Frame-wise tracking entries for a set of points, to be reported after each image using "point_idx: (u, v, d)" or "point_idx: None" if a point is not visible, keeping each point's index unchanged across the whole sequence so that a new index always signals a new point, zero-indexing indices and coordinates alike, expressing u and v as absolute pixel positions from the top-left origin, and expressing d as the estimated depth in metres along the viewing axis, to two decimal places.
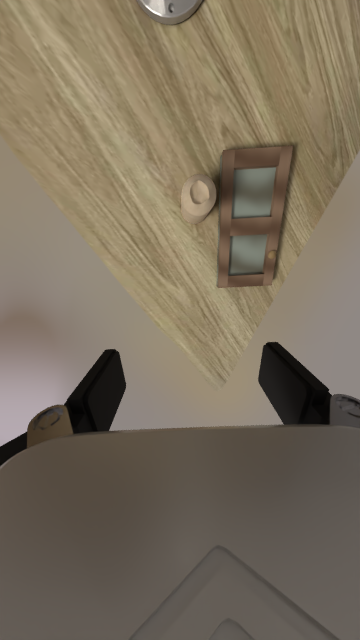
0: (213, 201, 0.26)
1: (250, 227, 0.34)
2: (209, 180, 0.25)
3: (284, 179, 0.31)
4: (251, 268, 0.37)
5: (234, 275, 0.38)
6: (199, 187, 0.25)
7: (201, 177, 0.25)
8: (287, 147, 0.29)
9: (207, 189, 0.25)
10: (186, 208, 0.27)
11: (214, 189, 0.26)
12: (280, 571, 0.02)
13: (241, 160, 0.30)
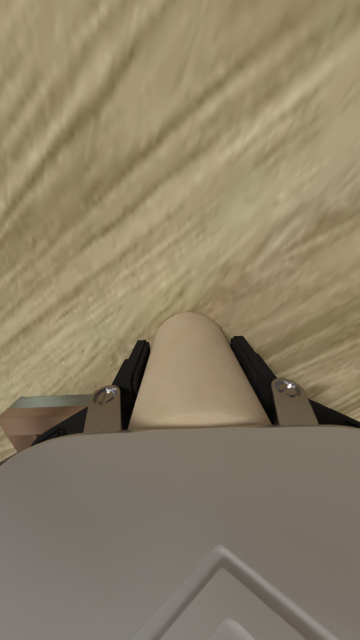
0: None
1: None
2: None
3: None
4: None
5: None
6: None
7: None
8: None
9: None
10: None
11: None
12: (280, 571, 0.02)
13: None
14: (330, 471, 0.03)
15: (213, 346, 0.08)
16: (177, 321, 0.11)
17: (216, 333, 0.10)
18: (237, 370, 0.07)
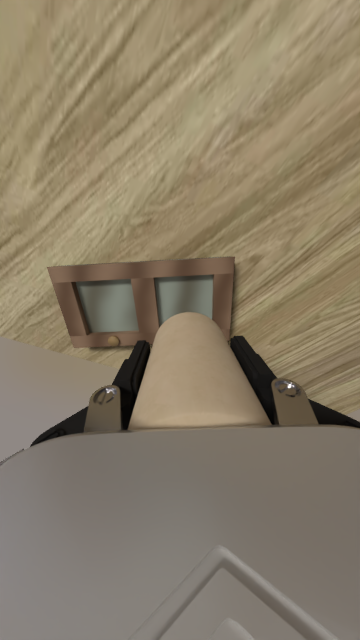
0: None
1: (144, 307, 0.23)
2: None
3: None
4: (93, 317, 0.25)
5: (76, 292, 0.23)
6: None
7: None
8: (228, 335, 0.25)
9: None
10: None
11: None
12: (280, 571, 0.02)
13: (221, 283, 0.22)
14: (330, 471, 0.03)
15: (213, 346, 0.08)
16: (177, 321, 0.11)
17: (216, 333, 0.10)
18: (237, 370, 0.07)
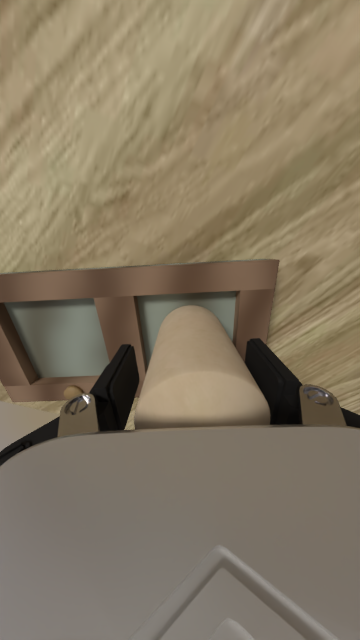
0: None
1: (119, 344, 0.14)
2: None
3: None
4: (41, 355, 0.16)
5: (6, 318, 0.14)
6: None
7: None
8: None
9: None
10: (157, 391, 0.06)
11: None
12: (280, 571, 0.02)
13: (251, 306, 0.13)
14: (330, 471, 0.03)
15: (212, 330, 0.09)
16: (181, 312, 0.12)
17: (215, 322, 0.11)
18: (232, 349, 0.08)
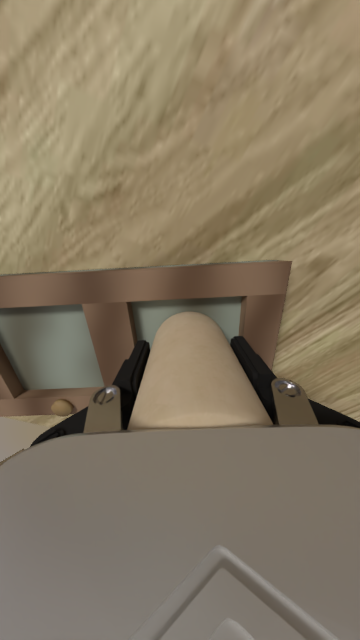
0: None
1: (112, 355, 0.13)
2: None
3: None
4: (27, 366, 0.14)
5: None
6: None
7: None
8: None
9: None
10: None
11: None
12: (280, 571, 0.02)
13: (259, 313, 0.11)
14: (330, 471, 0.03)
15: (214, 345, 0.08)
16: (177, 320, 0.11)
17: (217, 333, 0.10)
18: (239, 370, 0.07)
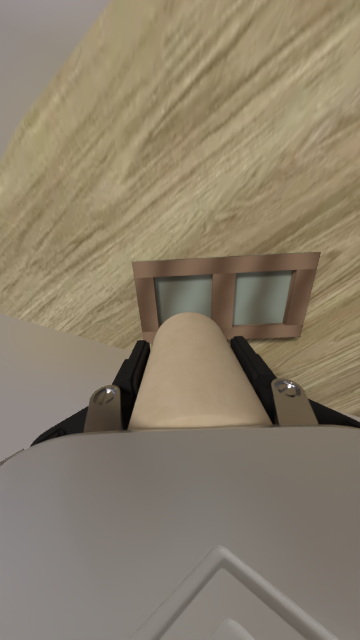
0: None
1: (221, 303, 0.24)
2: None
3: (269, 334, 0.25)
4: (166, 312, 0.25)
5: (154, 287, 0.23)
6: None
7: None
8: (300, 331, 0.25)
9: None
10: None
11: None
12: (280, 571, 0.02)
13: (302, 279, 0.22)
14: (330, 471, 0.03)
15: (215, 347, 0.08)
16: (178, 321, 0.11)
17: (217, 334, 0.10)
18: (239, 371, 0.07)
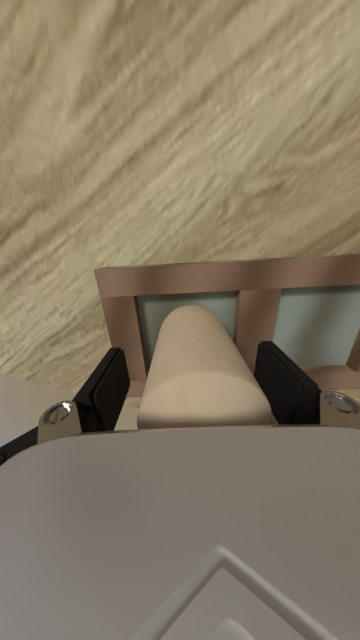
0: None
1: (251, 338, 0.14)
2: None
3: (326, 384, 0.16)
4: None
5: (138, 312, 0.14)
6: None
7: None
8: None
9: None
10: (160, 392, 0.06)
11: None
12: (280, 571, 0.02)
13: None
14: (330, 471, 0.03)
15: (214, 330, 0.09)
16: (182, 312, 0.12)
17: (217, 322, 0.11)
18: (234, 349, 0.08)
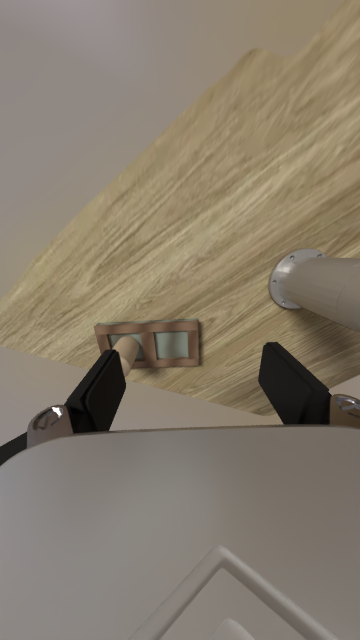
0: None
1: (147, 347, 0.40)
2: (125, 375, 0.34)
3: (180, 364, 0.42)
4: None
5: (108, 338, 0.40)
6: None
7: (126, 370, 0.33)
8: (197, 362, 0.42)
9: None
10: None
11: None
12: (280, 571, 0.02)
13: (191, 335, 0.39)
14: (330, 471, 0.03)
15: (125, 346, 0.36)
16: (121, 339, 0.39)
17: (130, 343, 0.38)
18: (127, 351, 0.35)
